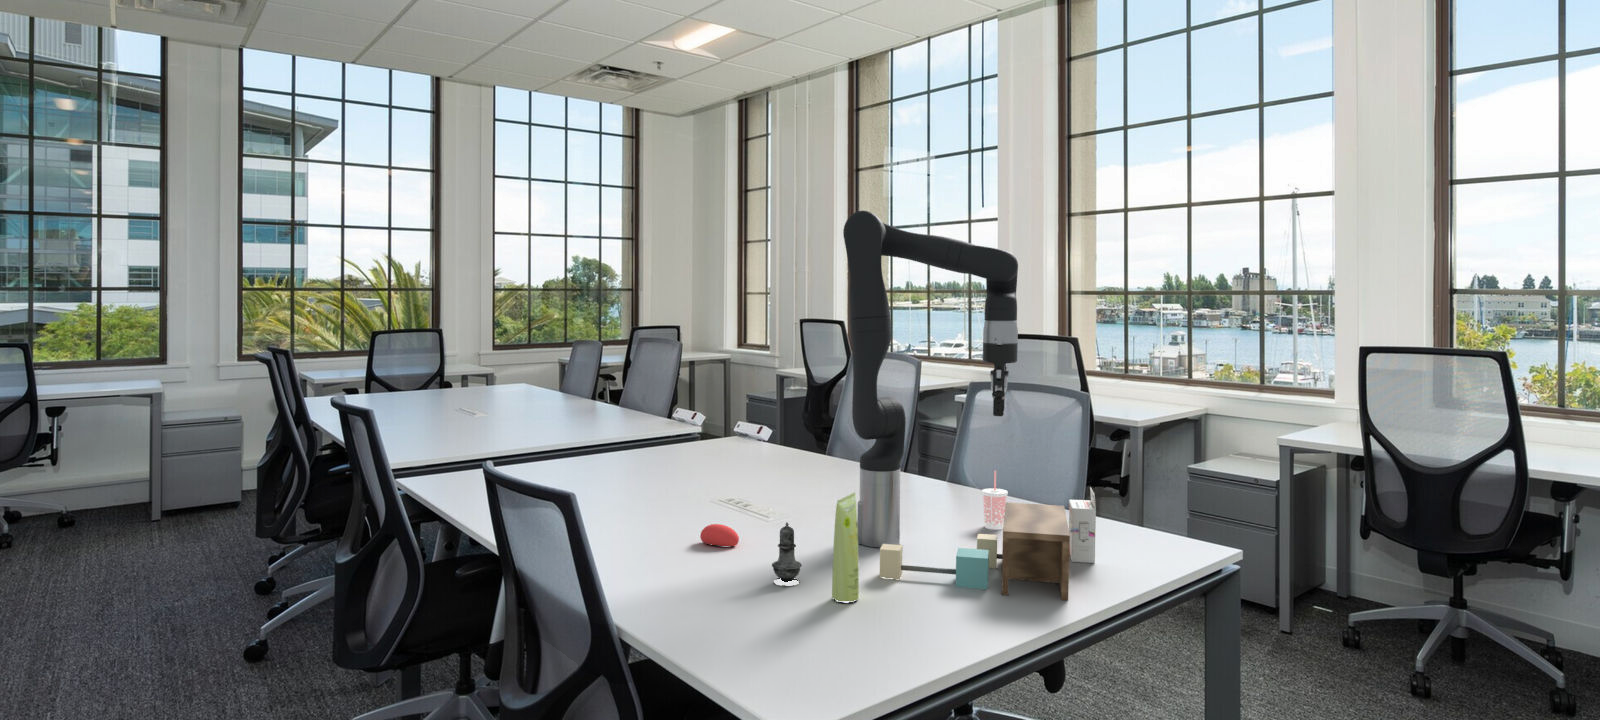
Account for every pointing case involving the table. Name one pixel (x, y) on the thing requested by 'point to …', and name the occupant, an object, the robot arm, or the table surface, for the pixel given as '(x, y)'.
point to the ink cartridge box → (1082, 529)
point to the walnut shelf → (1035, 545)
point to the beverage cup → (994, 506)
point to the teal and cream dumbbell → (968, 568)
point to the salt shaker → (786, 556)
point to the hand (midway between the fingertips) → (998, 413)
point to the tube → (845, 551)
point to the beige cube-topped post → (989, 547)
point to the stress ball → (719, 535)
